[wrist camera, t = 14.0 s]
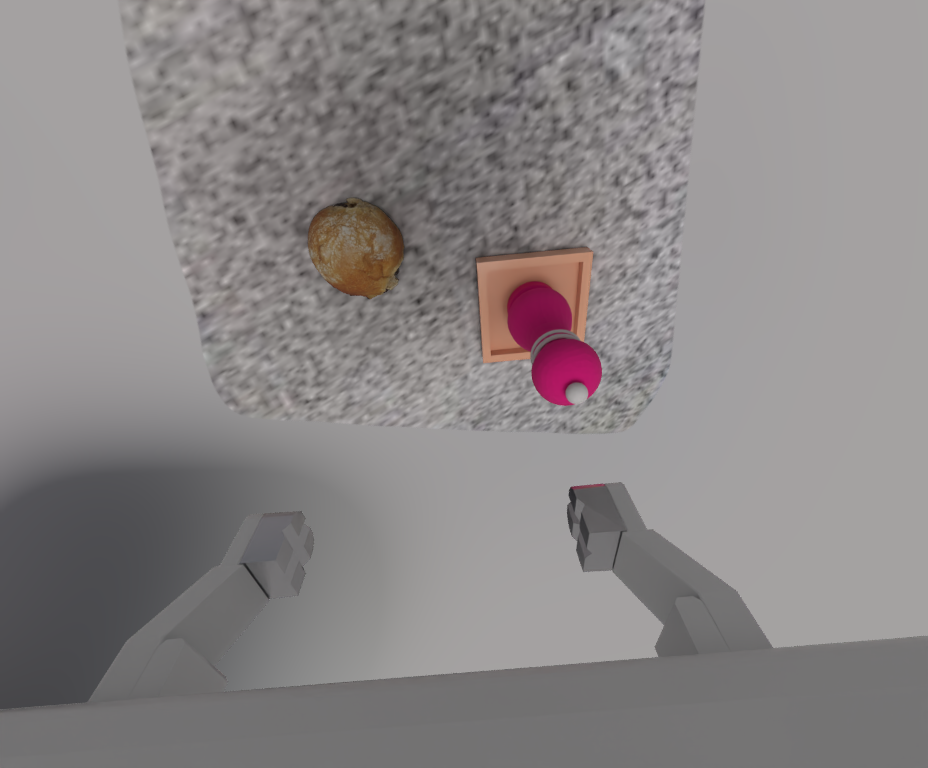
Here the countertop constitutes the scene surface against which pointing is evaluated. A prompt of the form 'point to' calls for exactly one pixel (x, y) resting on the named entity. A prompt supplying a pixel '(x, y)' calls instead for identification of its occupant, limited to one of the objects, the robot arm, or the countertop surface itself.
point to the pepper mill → (552, 344)
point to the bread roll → (356, 248)
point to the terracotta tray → (508, 272)
